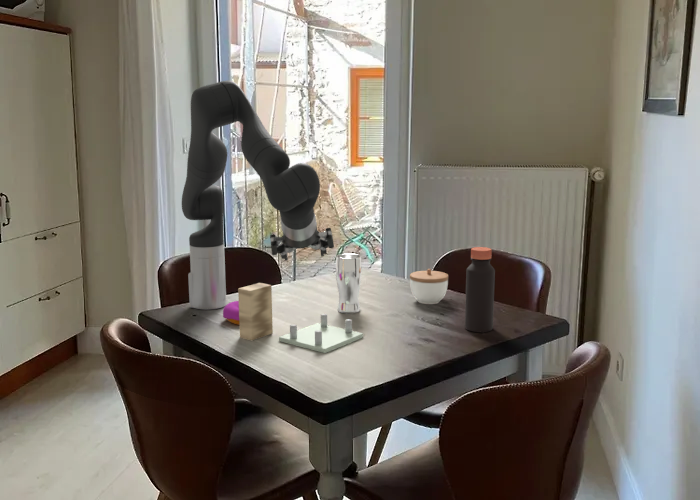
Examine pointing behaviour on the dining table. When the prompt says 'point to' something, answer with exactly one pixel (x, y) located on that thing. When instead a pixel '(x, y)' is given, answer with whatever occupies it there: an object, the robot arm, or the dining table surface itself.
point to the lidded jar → (428, 286)
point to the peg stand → (321, 336)
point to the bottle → (480, 291)
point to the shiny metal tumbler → (348, 282)
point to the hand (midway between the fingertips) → (304, 254)
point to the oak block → (255, 311)
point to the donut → (232, 312)
